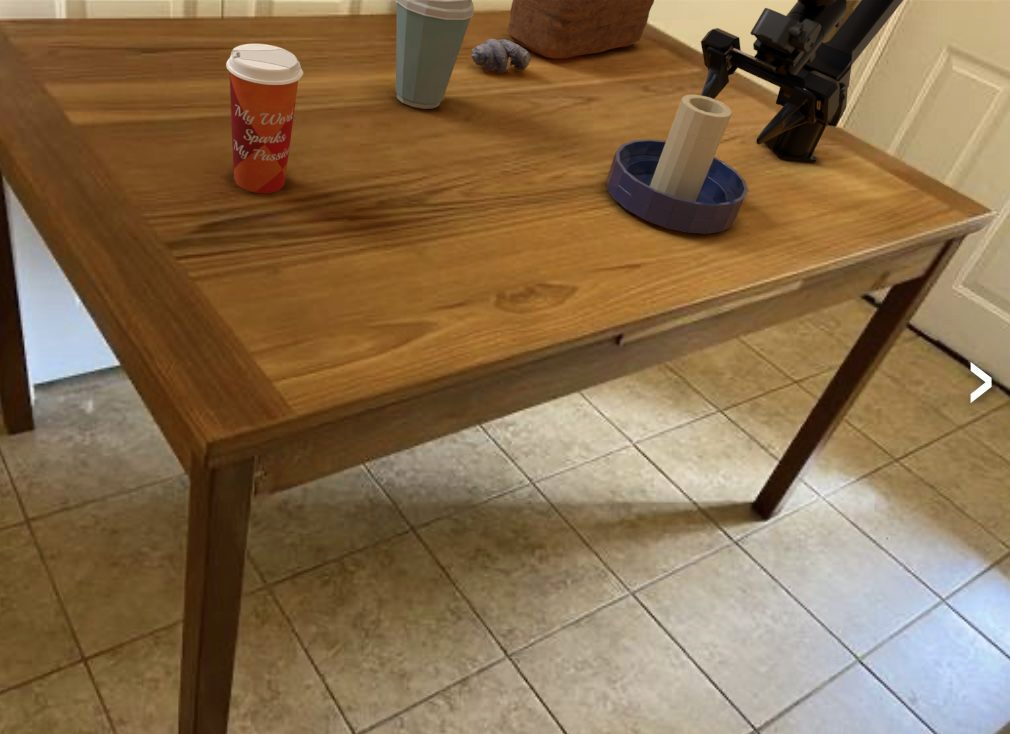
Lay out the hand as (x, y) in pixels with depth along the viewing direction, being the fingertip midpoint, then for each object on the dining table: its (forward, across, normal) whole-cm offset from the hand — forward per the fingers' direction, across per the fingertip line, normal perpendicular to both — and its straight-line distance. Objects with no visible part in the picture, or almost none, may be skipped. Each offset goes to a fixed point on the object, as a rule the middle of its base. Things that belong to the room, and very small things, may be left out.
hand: (727, 127), depth 113 cm
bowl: (+12, 0, 0) cm, 12 cm away
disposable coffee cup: (+19, -37, -6) cm, 42 cm away
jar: (+12, 0, 0) cm, 12 cm away
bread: (-12, -44, +25) cm, 52 cm away
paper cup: (+43, -28, -31) cm, 60 cm away
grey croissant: (+5, -40, +8) cm, 41 cm away
